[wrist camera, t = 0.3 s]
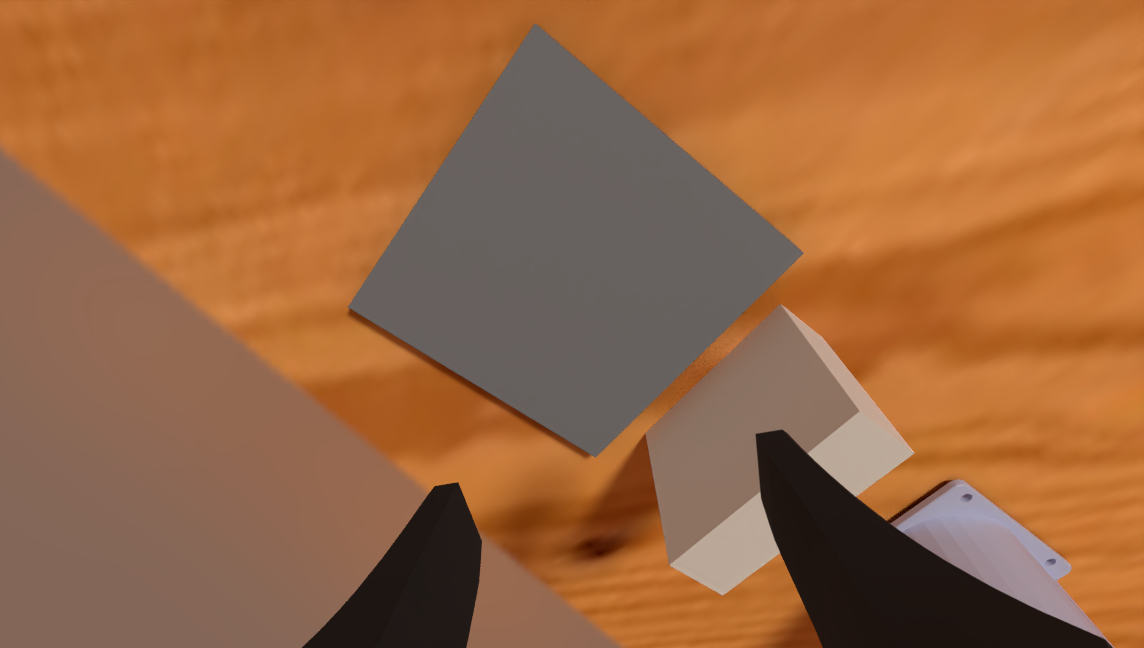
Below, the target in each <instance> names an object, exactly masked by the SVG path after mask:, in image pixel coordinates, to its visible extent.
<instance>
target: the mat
mask: <svg viewBox="0 0 1144 648" xmlns="http://www.w3.org/2000/svg"><path fill="white" fill-rule="evenodd" d="M802 254H803V252H802V251H801V250H800V249H799V248H798V247H797V246H796V245H795V244H793V243H792V242H791V241H790V240H789V239H787V238H786V237H785V236H784V235H783V234H782V233H780V232H779V231H778V230H777V229H776V228H775V227H773V226H772V225H771V224H770V223H769V222H768V221H766V220H765V219H764V218H763V217H762V216H761V215H759V214H758V213H757V212H756V211H755V210H754V209H752V208H751V207H750V206H749V205H748V204H746V203H745V202H744V201H743V200H742V199H741V198H739V197H738V196H737V195H736V194H735V193H734V192H732V191H731V190H730V189H729V188H728V187H727V186H725V185H724V184H723V183H722V182H721V181H720V180H718V179H717V178H716V177H715V176H714V175H712V174H711V173H710V172H709V171H708V170H707V169H705V168H704V167H703V166H702V165H701V164H700V163H698V162H697V161H696V160H695V159H694V158H693V157H691V156H690V155H689V154H688V153H687V152H686V151H684V150H683V149H682V148H681V147H680V146H678V145H677V144H676V143H675V142H674V141H673V140H671V139H670V138H669V137H668V136H667V135H666V134H664V133H663V132H662V131H661V130H660V129H659V128H657V127H656V126H655V125H654V124H653V123H652V122H650V121H649V120H648V119H647V118H646V117H645V116H643V115H642V114H641V113H640V112H639V111H637V110H636V109H635V108H634V107H633V106H632V105H630V104H629V103H628V102H627V101H626V100H625V99H623V98H622V97H621V96H620V95H619V94H618V93H616V92H615V91H614V90H613V89H612V88H611V87H609V86H608V85H607V84H606V83H605V82H603V81H602V80H601V79H600V78H599V77H598V76H596V75H595V74H594V73H593V72H592V71H591V70H589V69H588V68H587V67H586V66H585V65H584V64H582V63H581V62H580V61H579V60H578V59H577V58H575V57H574V56H573V55H572V54H571V53H569V52H568V51H567V50H566V49H565V48H564V47H562V46H561V45H560V44H559V43H558V42H557V41H555V40H554V39H553V38H552V37H551V36H550V35H548V34H547V33H546V32H545V31H544V30H543V29H541V28H540V27H539V26H538V25H537V24H534V26H533V27H532V29H531V30H530V32H529V33H528V35H527V36H526V38H525V39H524V41H523V42H522V44H521V45H520V47H519V48H518V50H517V51H516V53H515V54H514V56H513V57H512V59H511V61H510V62H509V64H508V65H507V67H506V68H505V70H504V71H503V73H502V74H501V76H500V77H499V79H498V80H497V82H496V83H495V85H494V86H493V88H492V89H491V91H490V92H489V94H488V95H487V97H486V98H485V100H484V102H483V103H482V105H481V106H480V108H479V109H478V111H477V112H476V114H475V115H474V117H473V118H472V120H471V121H470V123H469V124H468V126H467V127H466V129H465V130H464V132H463V133H462V135H461V136H460V138H459V139H458V141H457V142H456V144H455V146H454V147H453V149H452V150H451V152H450V153H449V155H448V156H447V158H446V159H445V161H444V162H443V164H442V165H441V167H440V168H439V170H438V171H437V173H436V174H435V176H434V177H433V179H432V180H431V182H430V183H429V185H428V186H427V188H426V190H425V191H424V193H423V194H422V196H421V197H420V199H419V200H418V202H417V203H416V205H415V206H414V208H413V209H412V211H411V212H410V214H409V215H408V217H407V218H406V220H405V221H404V223H403V224H402V226H401V227H400V229H399V230H398V232H397V234H396V235H395V237H394V238H393V240H392V241H391V243H390V244H389V246H388V247H387V249H386V250H385V252H384V253H383V255H382V256H381V258H380V259H379V261H378V262H377V264H376V265H375V267H374V268H373V270H372V271H371V273H370V275H369V276H368V278H367V279H366V281H365V282H364V284H363V285H362V287H361V288H360V290H359V291H358V293H357V294H356V296H355V297H354V299H353V300H352V302H351V303H350V305H349V306H348V308H350V309H352V310H353V311H355V312H357V313H358V314H360V315H362V316H363V317H365V318H366V319H368V320H370V321H371V322H373V323H375V324H376V325H378V326H380V327H381V328H383V329H385V330H386V331H388V332H390V333H391V334H393V335H394V336H396V337H398V338H399V339H401V340H403V341H404V342H406V343H408V344H409V345H411V346H413V347H414V348H416V349H418V350H419V351H421V352H423V353H424V354H426V355H427V356H429V357H431V358H432V359H434V360H436V361H437V362H439V363H441V364H442V365H444V366H446V367H447V368H449V369H451V370H452V371H454V372H455V373H457V374H459V375H460V376H462V377H464V378H465V379H467V380H469V381H470V382H472V383H474V384H475V385H477V386H479V387H480V388H482V389H483V390H485V391H487V392H488V393H490V394H492V395H493V396H495V397H497V398H498V399H500V400H502V401H503V402H505V403H507V404H508V405H510V406H511V407H513V408H515V409H516V410H518V411H520V412H521V413H523V414H525V415H526V416H528V417H530V418H531V419H533V420H535V421H536V422H538V423H539V424H541V425H543V426H544V427H546V428H548V429H549V430H551V431H553V432H554V433H556V434H558V435H559V436H561V437H563V438H564V439H566V440H567V441H569V442H571V443H572V444H574V445H576V446H577V447H579V448H581V449H582V450H584V451H586V452H587V453H589V454H591V455H592V456H594V457H596V456H597V455H598V454H599V453H600V452H602V451H603V450H604V449H605V448H606V447H607V446H608V445H609V444H610V443H611V442H612V441H613V440H614V439H615V438H616V437H617V436H618V435H619V434H620V433H621V432H622V431H623V430H624V429H625V428H626V427H627V426H628V425H629V424H630V423H631V422H632V421H633V420H634V419H635V418H636V417H637V416H638V415H639V414H640V413H641V412H642V411H643V410H644V409H645V408H646V407H647V406H648V405H649V404H650V403H651V402H652V401H654V400H655V399H656V398H657V397H658V396H659V395H660V394H661V393H662V392H663V391H664V390H665V389H666V388H667V387H668V386H669V385H670V384H671V383H672V382H673V381H674V380H675V379H676V378H677V377H678V376H679V375H680V374H681V373H682V372H683V371H684V370H685V369H686V368H687V367H688V366H689V365H690V364H691V363H692V362H693V361H694V360H695V359H696V358H697V357H698V356H699V355H700V354H701V353H702V352H703V351H705V350H706V349H707V348H708V347H709V346H710V345H711V344H712V343H713V342H714V341H715V340H716V339H717V338H718V337H719V336H720V335H721V334H722V333H723V332H724V331H725V330H726V329H727V328H728V327H729V326H730V325H731V324H732V323H733V322H734V321H735V320H736V319H737V318H738V317H739V316H740V315H741V314H742V313H743V312H744V311H745V310H746V309H747V308H748V307H749V306H750V305H751V304H752V303H753V302H754V301H755V300H757V299H758V298H759V297H760V296H761V295H762V294H763V293H764V292H765V291H766V290H767V289H768V288H769V287H770V286H771V285H772V284H773V283H774V282H775V281H776V280H777V279H778V278H779V277H780V276H781V275H782V274H783V273H784V272H785V271H786V270H787V269H788V268H789V267H790V266H791V265H792V264H793V263H794V262H795V261H796V260H797V259H798V258H799V257H800V256H801V255H802Z"/></svg>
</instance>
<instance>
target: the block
mask: <svg viewBox="0 0 1144 648" xmlns="http://www.w3.org/2000/svg"><path fill="white" fill-rule="evenodd" d="M781 429H782V430H784V431H785V432H787V433H788V434H789V435H790V436H791V437H792V438H793V439H794V440H795V442H796V443H797V444H798V445H799V446H800V447H801V448H802V449H803V450H804V451H805V452H806V453H807V454H808V455H810V456H811V457H812V458H813V459H814V460H815V461H816V462H817V463H818V464H819V465H820V466H821V467H822V468H823V469H824V470H825V471H827V472H828V473H829V474H830V475H831V476H832V477H833V478H834V479H836V480H837V481H838V482H839V483H840V484H841V485H843V486H844V487H845V488H846V489H847V490H848V491H849V492H851V493H852V494H853V495H854V496H855V497H856V496H857V495H859V494H860V493H861V492H863V491H864V490H865V489H867V488H868V487H870V486H871V485H872V484H874V483H875V482H876V481H878V480H879V479H880V478H882V477H883V476H884V475H886V474H887V473H888V472H890V471H891V470H892V469H894V468H895V467H896V466H898V465H899V464H900V463H902V462H903V461H905V460H906V459H907V458H909V457H910V456H911V455H913V454H914V452H913V451H912V449H911V448H910V447H909V446H908V444H907V443H906V442H905V440H904V439H903V438H902V437H901V435H900V434H899V433H898V432H897V430H896V429H895V428H894V427H893V425H892V424H891V423H890V422H889V420H888V419H887V418H886V417H885V415H884V414H883V413H882V412H881V410H880V409H879V408H878V407H877V405H876V404H875V403H874V401H873V400H872V399H871V398H870V396H869V395H868V394H867V393H866V391H865V390H864V389H863V388H862V386H861V385H860V384H859V383H858V381H857V380H856V379H855V378H854V376H853V375H852V374H851V373H850V371H849V370H848V369H847V368H846V366H845V365H844V364H843V363H842V361H841V360H840V359H839V357H838V356H837V355H836V354H835V352H834V351H833V350H832V349H831V347H830V346H829V345H828V344H827V342H826V341H825V340H824V339H823V338H822V337H821V336H820V335H819V334H817V333H816V332H815V331H814V330H812V329H811V328H810V327H809V326H807V325H806V324H805V323H804V322H802V321H801V320H800V319H799V318H797V317H796V316H795V315H794V314H792V313H791V312H790V311H789V310H787V309H786V308H785V307H784V306H782V305H781V304H780V305H779V306H778V307H777V308H776V309H775V310H773V311H772V312H771V313H770V314H769V315H768V316H767V317H766V318H765V319H764V320H763V321H762V322H761V323H760V324H759V325H758V326H757V327H756V328H755V329H754V330H753V331H752V332H750V333H749V334H748V335H747V336H746V337H745V338H744V339H743V340H742V341H741V342H740V343H739V344H738V345H737V346H736V347H735V348H734V349H733V350H732V351H731V352H730V353H729V354H727V355H726V356H725V357H724V358H723V359H722V360H721V361H720V362H719V363H718V364H717V365H716V366H715V367H714V368H713V369H712V370H711V371H710V372H709V373H708V374H707V375H706V376H704V377H703V378H702V379H701V380H700V381H699V382H698V383H697V384H696V385H695V386H694V387H693V388H692V389H691V390H690V391H689V392H688V393H687V394H686V395H685V396H684V397H683V398H681V399H680V400H679V401H678V402H677V403H676V404H675V405H674V406H673V407H672V408H671V409H670V410H669V411H668V412H667V413H666V414H665V415H664V416H663V417H662V418H661V419H660V420H658V421H657V422H656V423H655V424H654V425H653V426H652V427H651V428H650V429H649V430H648V431H647V432H646V433H645V434H646V440H647V445H648V451H649V456H650V462H651V467H652V473H653V478H654V484H655V489H656V495H657V500H658V506H659V511H660V517H661V522H662V528H663V533H664V539H665V544H666V550H667V555H668V561H669V565H670V566H672V567H673V568H675V569H677V570H679V571H680V572H682V573H684V574H686V575H687V576H689V577H691V578H693V579H695V580H696V581H698V582H700V583H702V584H703V585H705V586H707V587H709V588H710V589H712V590H714V591H716V592H718V593H719V594H721V595H724V594H725V593H727V592H728V591H729V590H731V589H732V588H734V587H735V586H736V585H738V584H739V583H740V582H742V581H743V580H744V579H746V578H747V577H748V576H750V575H751V574H752V573H754V572H755V571H756V570H758V569H759V568H760V567H762V566H763V565H765V564H766V563H767V562H769V561H770V560H771V559H773V558H774V557H775V556H777V555H778V554H779V553H780V551H779V549H778V547H777V544H776V542H775V540H774V537H773V534H772V531H771V528H770V525H769V522H768V519H767V516H766V513H765V510H764V507H763V503H762V500H761V494H760V482H759V470H758V459H757V447H756V435H755V434H757V433H763V432H769V431H775V430H781Z"/></svg>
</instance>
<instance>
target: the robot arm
mask: <svg viewBox="0 0 1144 648" xmlns="http://www.w3.org/2000/svg"><path fill="white" fill-rule="evenodd" d="M755 435H756V447H757V459H758V470H759V482H760V494H761V500H762V503H763V507H764V510H765V513H766V516H767V519H768V522H769V525H770V528H771V531H772V534H773V537H774V540H775V542H776V544H777V547H778V549H779V551H780V553H781V556H782V558H783V560H784V562H785V564H786V567H787V569H788V571H789V573H790V575H791V577H792V580H793V582H794V584H795V586H796V588H797V591H798V593H799V595H800V597H801V599H802V601H803V604H804V606H805V608H806V610H807V612H808V614H809V617H810V619H811V621H812V623H813V625H814V628H815V630H816V632H817V635H818V637H819V639H820V642H821V644H822V647H823V648H1114V647H1113V645H1112V644H1111V643H1110V642H1109V641H1108V640H1107V639H1106V637H1105V636H1104V635H1103V634H1102V633H1101V632H1100V630H1099V629H1098V628H1097V627H1096V626H1095V625H1094V624H1093V622H1092V621H1091V620H1090V619H1089V618H1088V617H1087V615H1086V614H1085V613H1084V612H1083V611H1082V610H1081V609H1080V607H1079V606H1078V605H1077V604H1076V603H1075V602H1074V600H1073V599H1072V598H1071V597H1070V596H1069V595H1068V594H1067V592H1066V591H1065V590H1064V589H1063V588H1062V587H1061V586H1060V584H1059V583H1058V582H1057V581H1056V580H1058V579H1060V578H1061V577H1063V576H1065V575H1067V574H1068V573H1069V572H1070V571H1071V565H1070V564H1069V563H1068V562H1067V561H1066V559H1064V558H1063V557H1062V556H1060V555H1059V554H1058V553H1057V552H1055V551H1054V550H1053V549H1051V548H1050V547H1049V546H1048V545H1046V544H1045V543H1044V542H1042V541H1041V540H1040V539H1039V538H1037V537H1036V536H1035V535H1033V534H1032V533H1031V532H1029V531H1028V530H1027V529H1026V528H1024V527H1023V526H1022V525H1020V524H1019V523H1018V522H1017V521H1015V520H1014V519H1013V518H1011V517H1010V516H1009V515H1008V514H1006V513H1005V512H1004V511H1002V510H1001V509H1000V508H999V507H997V506H996V505H995V504H993V503H992V502H991V501H990V500H988V499H987V498H986V497H984V496H983V495H982V494H981V493H979V492H978V491H977V490H975V489H974V488H973V487H971V486H970V485H969V484H968V483H966V482H965V481H963V480H953V481H951V482H949V483H947V484H946V485H945V486H943V487H942V488H940V489H939V490H937V491H936V492H935V493H933V494H932V495H930V496H929V497H927V498H926V499H925V500H923V501H922V502H920V503H919V504H917V505H916V506H915V507H913V508H912V509H910V510H909V511H907V512H906V513H905V514H903V515H902V516H900V517H899V518H898V519H896V520H895V521H893V522H892V523H889V522H887V521H886V520H885V519H883V518H882V517H881V516H879V515H878V514H877V513H876V512H874V511H873V510H872V509H870V508H869V507H868V506H867V505H865V504H864V503H863V502H862V501H860V500H859V499H858V498H857V497H855V496H854V495H853V494H852V493H851V492H849V491H848V490H847V489H846V488H845V487H844V486H843V485H841V484H840V483H839V482H838V481H837V480H836V479H834V478H833V477H832V476H831V475H830V474H829V473H828V472H827V471H825V470H824V469H823V468H822V467H821V466H820V465H819V464H818V463H817V462H816V461H815V460H814V459H813V458H812V457H811V456H810V455H808V454H807V453H806V452H805V451H804V450H803V449H802V448H801V447H800V446H799V445H798V444H797V443H796V442H795V440H794V439H793V438H792V437H791V436H790V435H789V434H788V433H787V432H785V431H784V430H782V429H781V430H775V431H769V432H763V433H757V434H755ZM481 546H482V540H481V538H480V535H479V533H478V530H477V528H476V525H475V523H474V520H473V518H472V515H471V513H470V510H469V508H468V506H467V503H466V501H465V498H464V496H463V493H462V491H461V488H460V486H459V483H458V482H457V483H451V484H445V485H439V486H434V488H433V489H432V490H431V492H430V493H429V495H428V496H427V497H426V499H425V500H424V501H423V503H422V504H421V506H420V507H419V509H418V510H417V511H416V513H415V514H414V515H413V517H412V518H411V520H410V521H409V523H408V524H407V525H406V527H405V528H404V530H403V531H402V532H401V534H400V535H399V537H398V538H397V539H396V540H395V542H394V543H393V545H392V546H391V547H390V549H389V550H388V551H387V553H386V554H385V555H384V557H383V558H382V559H381V561H380V562H379V563H378V564H377V566H376V567H375V568H374V569H373V571H372V572H371V573H370V574H369V575H368V577H367V578H366V579H365V581H364V582H363V583H362V584H361V585H360V587H359V588H358V589H357V590H356V592H355V593H354V594H353V595H352V596H351V597H350V598H349V600H348V601H347V602H346V603H345V604H344V605H343V606H342V607H341V609H340V610H339V611H338V612H337V613H336V614H335V615H334V616H333V617H332V618H331V619H330V620H329V621H328V622H327V624H326V625H325V626H324V627H323V628H322V629H321V630H320V631H319V632H318V633H317V634H316V635H315V636H314V637H313V638H312V639H311V640H309V641H308V642H307V643H306V644H305V645H304V646H303V647H302V648H466V646H467V642H468V637H469V632H470V626H471V621H472V616H473V611H474V606H475V601H476V596H477V589H478V584H479V575H480V564H481Z"/></svg>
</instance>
